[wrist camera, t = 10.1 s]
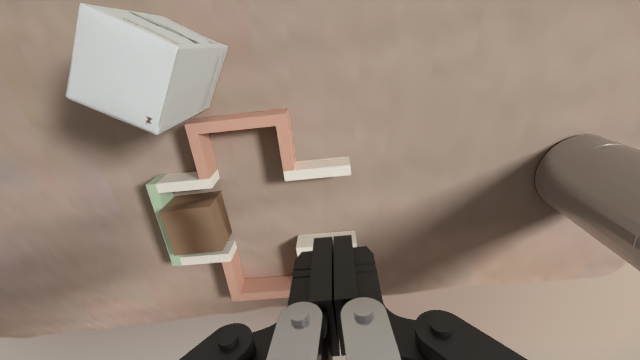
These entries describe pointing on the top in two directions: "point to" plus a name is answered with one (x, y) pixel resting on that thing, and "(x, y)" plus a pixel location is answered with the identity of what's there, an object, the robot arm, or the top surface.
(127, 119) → the supplement box
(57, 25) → the top surface
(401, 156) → the top surface
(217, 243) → the walnut block
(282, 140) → the corral
